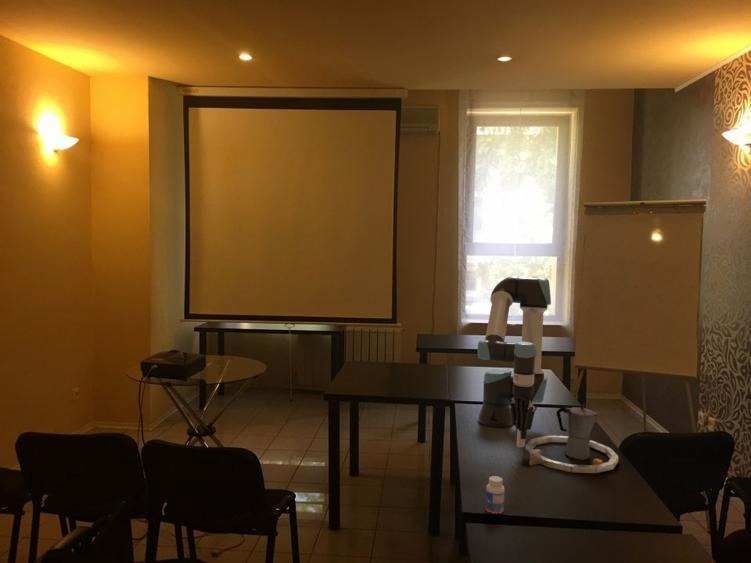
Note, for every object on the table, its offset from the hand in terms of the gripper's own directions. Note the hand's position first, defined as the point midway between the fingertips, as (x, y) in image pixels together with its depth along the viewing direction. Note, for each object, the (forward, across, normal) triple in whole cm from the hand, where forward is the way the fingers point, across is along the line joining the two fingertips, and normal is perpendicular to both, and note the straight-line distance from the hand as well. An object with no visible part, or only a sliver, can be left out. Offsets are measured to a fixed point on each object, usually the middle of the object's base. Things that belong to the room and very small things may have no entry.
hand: (520, 446), depth 220 cm
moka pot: (+4, +8, +20) cm, 22 cm away
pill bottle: (+4, +30, -36) cm, 47 cm away
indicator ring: (+4, +8, +14) cm, 16 cm away
